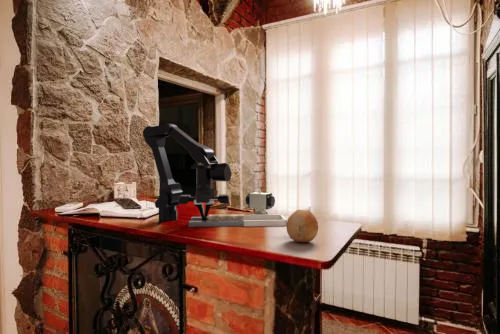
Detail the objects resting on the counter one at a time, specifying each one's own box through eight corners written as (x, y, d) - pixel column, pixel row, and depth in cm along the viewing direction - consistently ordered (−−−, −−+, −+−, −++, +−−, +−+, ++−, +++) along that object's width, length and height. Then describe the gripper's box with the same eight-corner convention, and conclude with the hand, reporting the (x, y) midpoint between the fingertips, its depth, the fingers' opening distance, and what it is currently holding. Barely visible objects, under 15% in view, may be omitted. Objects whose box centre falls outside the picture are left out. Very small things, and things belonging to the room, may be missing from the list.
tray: (243, 228, 112) (244, 220, 112) (242, 222, 124) (242, 214, 124) (286, 228, 114) (286, 220, 113) (281, 221, 125) (281, 214, 125)
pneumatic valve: (270, 221, 126) (270, 192, 125) (245, 218, 131) (245, 190, 131) (275, 218, 130) (276, 190, 130) (251, 216, 136) (251, 189, 135)
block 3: (232, 223, 116) (232, 216, 116) (232, 221, 120) (232, 214, 120) (243, 223, 116) (243, 215, 116) (242, 221, 120) (242, 214, 120)
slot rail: (188, 229, 112) (188, 222, 112) (191, 223, 122) (191, 216, 121) (243, 228, 113) (243, 221, 113) (242, 222, 123) (242, 216, 123)
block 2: (220, 224, 116) (220, 216, 116) (220, 222, 119) (220, 214, 119) (231, 224, 116) (231, 216, 116) (231, 221, 120) (231, 214, 119)
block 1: (208, 224, 115) (208, 216, 115) (209, 222, 119) (209, 214, 119) (219, 224, 116) (219, 216, 116) (219, 222, 119) (219, 214, 119)
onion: (288, 246, 91) (288, 213, 90) (284, 237, 100) (284, 207, 100) (321, 246, 91) (321, 213, 90) (314, 237, 101) (314, 207, 100)
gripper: (175, 182, 108) (175, 227, 108) (229, 182, 109) (229, 226, 110) (180, 180, 119) (180, 220, 119) (228, 179, 120) (229, 219, 121)
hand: (204, 221), depth 117 cm, fingers closed
